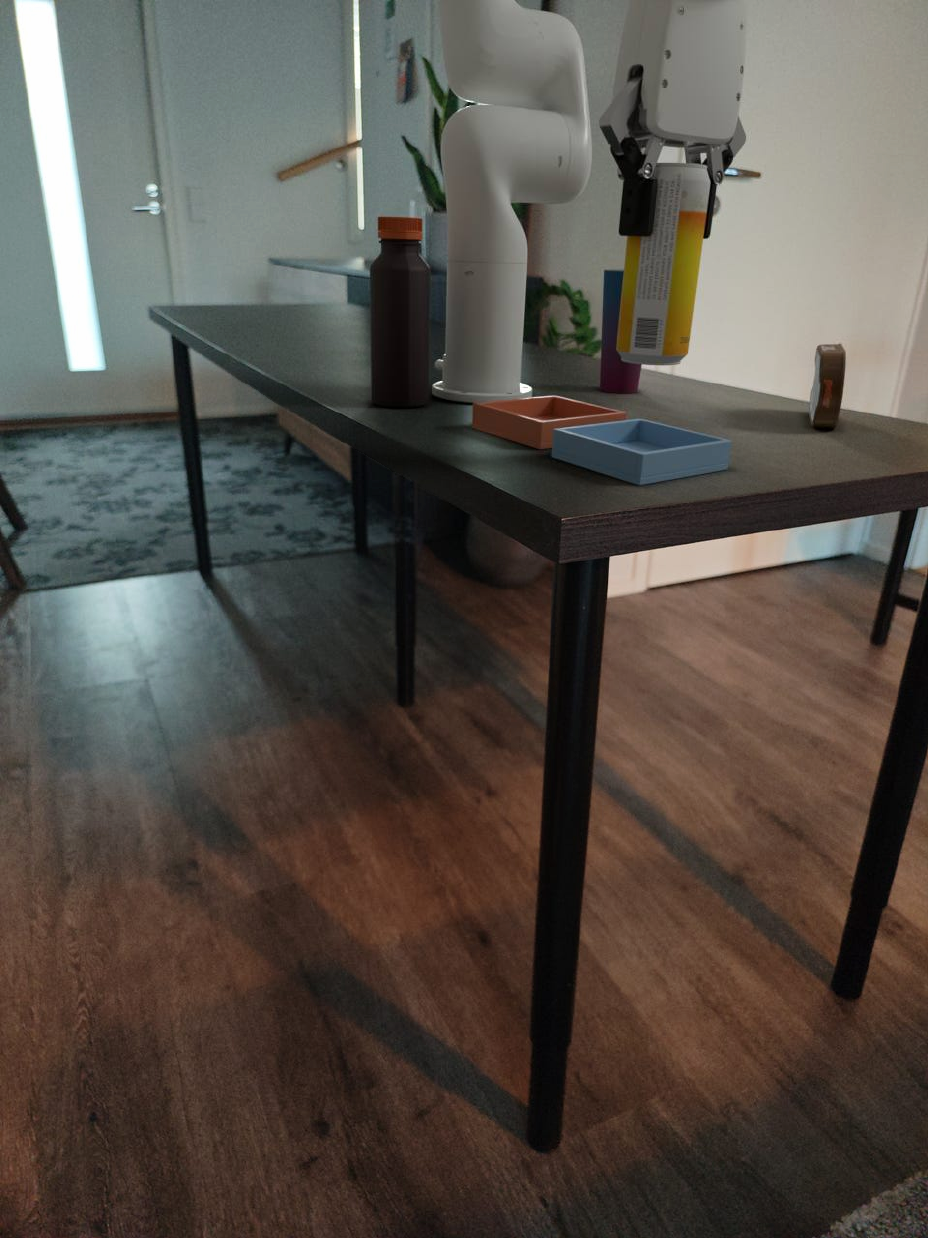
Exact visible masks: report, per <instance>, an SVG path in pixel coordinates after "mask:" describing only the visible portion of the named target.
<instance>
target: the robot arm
mask: <svg viewBox="0 0 928 1238" xmlns="http://www.w3.org/2000/svg"><path fill="white" fill-rule="evenodd" d="M436 1H437V2H436V4H437V12H438V13H437V14H438V22H439V31H440V41H441V48H442V49H441V50H442V58H443V64H444V65H443V66H444V71H445V75H446V80H447V83H448V86H449V88H450V91H452V93H453V94H454V95H455V96H456V97H457V98H459V99H460V100H463V101H466V102H470V103H474V104H475V105H469V106H466V107H463V108H461V109H458V110H457V111H455V112H454V113H452V115H451V116H450V117H449V118H448V120H447V121H446V122H445V125H444V127H443V130H442V133H441V137H440V138H441V139H440V162H441V163H440V165H441V170H442V178H443V185H444V195H445V205H446V206H445V207H446V232H447V233H446V235H447V236H446V237H447V238H446V239H447V240H446V291H445V292H446V295H445V297H446V299H445V341H444V343H445V345H444V346H445V347H444V348H445V349H444V354H442V359H436V360H435V362H434V368H435V370H437V371H440V372H442V375H441V376H442V377H441V378H442V380H440V381H437V382H435V383H433V384H432V386H431V394H432V395H433V396H434V397H436V398H439V399H442V400H448V401H452V402H459V403H468V404H473V403H479V402H489V401H500V400H510V399H521V398H532V397H533V388H532V386H529V385H528V384H525V383H521V381H522V380H521V379H522V378H521V377H522V360H523V345H524V343H523V340H524V325H525V323H524V322H525V308H526V307H525V306H526V289H527V274H528V273H527V272H528V241H527V237H526V233H525V231H524V228H523V226H522V223H521V222H520V220H519V218H518V216H517V214H516V212H515V211H514V208H513V206H512V204H518V203H522V204H524V203H525V204H542V205H543V204H545V205H563V204H568V203H571V202H573V201H575V200H576V199H578V198H579V197H580V196H581V195H582V193H583V192H584V190H585V189H586V187H587V184H588V182H589V180H590V179H589V178H590V175H591V170H592V163H593V162H592V161H593V141H592V130H591V129H592V127H591V117H590V106H589V95H588V86H587V76H586V75H587V74H586V63H585V55H584V49H583V48H584V47H583V44H582V41H581V37H580V35H579V33H578V31H577V29H576V27H575V25H573V23H572V21H570V20H569V19H568V18H567V17H565V16H563V15H561V14H558V13H556V12H551V11H545V10H539V9H532V8H526V7H523V6H521V4H519V3H518V2H516V0H436ZM747 16H748V15H747V0H629V3H628V7H627V12H626V15H625V19H624V23H623V29H622V33H621V37H620V44H619V48H618V55H617V61H616V67H615V74H614V81H613V88H612V98H611V103H610V104H609V106H608V107H607V108H606V110H604V112H603V114H602V115H600V118H599V121H598V126H599V128H600V130H601V132H602V134H603V136H604V138H605V140H606V142H607V144H608V145H609V151H610V154H611V156H612V157H613V160H614V161H615V163H616V166H617V170H616V174H617V177H618V179H619V180H621V181H622V191H621V200H620V213H619V222H618V223H619V224H618V235H619V236H621V237H627V236H645V237H648V236H650V235H651V234H652V232H653V225H654V216H655V207H656V197H657V188H658V179H650V177H651V176H652V175H653V172H654V169H655V167H656V164H657V163H658V161H659V158H660V156H661V153H662V150H663V148H664V147H668V148H681V149H684V158H685V163H692V164H702V165H706V166H707V172H708V176H709V179H710V190H709V198H708V205H707V213H706V220H705V228H704V236H703V240H707V239H710V236H711V233H712V227H713V226H712V225H713V224H712V223H713V217H714V211H715V203H716V195H717V189H718V186H720V185H722V183H723V181H724V178H725V173H726V171H727V170H728V169H729V167H730V166H731V165H732V163H733V161H734V158H735V157H736V155H737V154H738V153H739V152H740V150H741V149H743V146H744V145H745V144H746V142H747V134H746V132H745V129H744V126H743V124H742V121H741V119H740V116H739V114H740V107H741V103H742V102H741V101H742V100H741V99H742V93H743V86H744V73H745V64H746V63H745V61H746V46H747ZM642 149H644V150H643V153H642ZM701 154H706V155H705V156H706V157H705V158H704V160H703V161H702V157H701Z"/></svg>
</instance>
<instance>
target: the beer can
mask: <svg viewBox="0 0 928 1238" xmlns="http://www.w3.org/2000/svg"><path fill="white" fill-rule="evenodd" d="M650 179H658V188H657V197H656V207H655V216H654V225H653V232H652V234H651V235H650V236H648V237H645V236H626V246H625V255H624V256H625V257H624V264H623V270H624V275H623V285H622V295H621V306H620V316H619V326H618V336H617V346H616V350H617V352H618V353H619V354H620V356H621V357H622V358H621V360H622V361H624V362H628V363H634V364H642V366H643V365H646V366H677V365H680V364H681V362H682V360H683V359H684V358H685V357H686V356H687V355H688V354H689V348H690V342H691V335H692V334H691V333H692V326H693V319H694V311H695V303H696V297H697V287H698V281H699V280H698V279H699V274H700V265H701V258H702V252H703V251H702V249H703V243H704V239H703V236H704V228H705V220H706V213H707V205H708V198H709V190H710V179H709V176H708V172H707V166H706V165H702V163H701V164H692V163H686V162H657V164H656V167H655V169H654V172H653V175H652V176H651V177H650Z"/></svg>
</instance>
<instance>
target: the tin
mask: <svg viewBox="0 0 928 1238" xmlns="http://www.w3.org/2000/svg"><path fill="white" fill-rule="evenodd" d="M846 354H847V353H846V350H845V347H844V346H843V345H842V343H841V342H839V343H833V344H832V343H831V344H830V343H827V344H826V343H825V344H819V345H817V346H816V350H815V356H814V376H813V382H812V386H811V389H810V394H809V395H810V397H809V408H808V409H809V410H808V411H809V421H810V425H811V427H813V428H818V429H819V428H820V429H834V430H836V429H837V428H838V424H839V420H840V419H839V418H840V414H841V408H842V402H843V395H844V386H845V377H846V376H845V375H846V367H847V366H846V363H847V362H846V361H847V355H846Z"/></svg>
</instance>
